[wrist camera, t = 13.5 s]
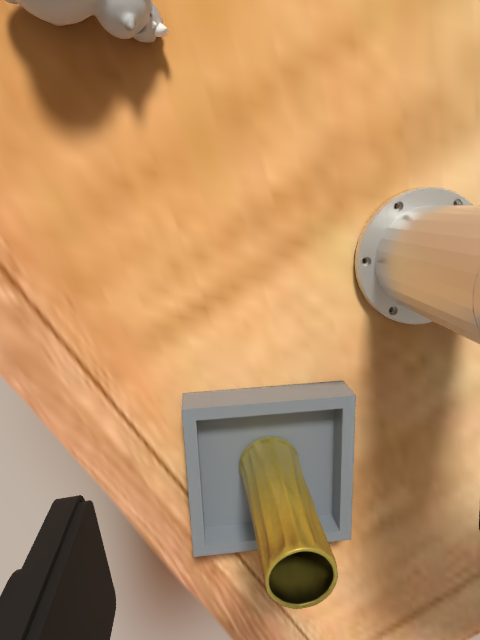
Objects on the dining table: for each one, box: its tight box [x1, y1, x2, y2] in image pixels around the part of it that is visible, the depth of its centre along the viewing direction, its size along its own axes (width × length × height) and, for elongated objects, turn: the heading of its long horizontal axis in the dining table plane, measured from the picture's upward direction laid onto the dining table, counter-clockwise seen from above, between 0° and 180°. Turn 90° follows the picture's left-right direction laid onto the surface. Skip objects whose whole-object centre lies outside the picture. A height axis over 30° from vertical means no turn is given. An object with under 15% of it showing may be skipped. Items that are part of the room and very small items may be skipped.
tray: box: [182, 381, 356, 557], centre depth 43 cm, size 16×16×4 cm
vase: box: [239, 437, 338, 609], centre depth 37 cm, size 6×6×14 cm
